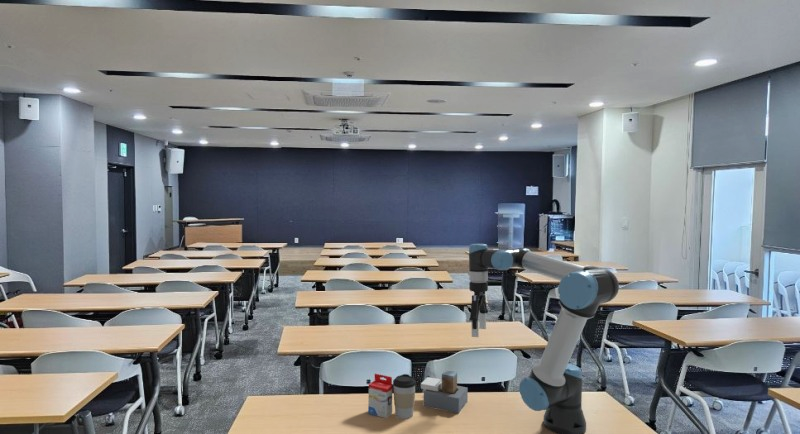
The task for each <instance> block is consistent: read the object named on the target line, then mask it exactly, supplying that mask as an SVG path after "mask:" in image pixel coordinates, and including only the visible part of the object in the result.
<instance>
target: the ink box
mask: <svg viewBox="0 0 800 434" xmlns="http://www.w3.org/2000/svg"><path fill="white" fill-rule="evenodd" d="M382 378H383V379H382ZM367 413H368V414H370V415H373V416H377V417H381V418H384V419H387V418H389V417H390V416H391V414H392V413H393V377H392V376H388V375H384V374H380V373H374V380H373V381H372V382H370V383H369V384H368V411H367Z"/></svg>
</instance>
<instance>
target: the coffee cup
mask: <svg viewBox="0 0 800 434" xmlns="http://www.w3.org/2000/svg"><path fill="white" fill-rule="evenodd" d="M416 385H417V381H416V379H415V378H414V377H413V376H410V375H409V374H407V373H404V374H401V375H397V376H396V377H395V378H394V379H392V387H393V388H392V392H393V404H394V412H395V413H394V414H395V417H396V418H398V419H401V420H408V419H411V418H413V416H414V406H415V399H416Z"/></svg>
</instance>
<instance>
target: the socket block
mask: <svg viewBox="0 0 800 434" xmlns="http://www.w3.org/2000/svg"><path fill="white" fill-rule="evenodd" d="M468 391H469V390H468V386H467V387H465V386H461V385H457V392H456V393H455V394H449V393H443V392H442V387H441V388H440V389H439V391H438V392H437V391H432V390H427V389H424V391H423V407H425V408H431V409H436V410H440V411H444V410H445V412H449V411H450V413H454V412H455V413H454V414H460V412H461V411H462V410H463V409H464V407H465V406H466V404H467V403H468V398H469V397H468V394H469V393H468Z"/></svg>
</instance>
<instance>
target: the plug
mask: <svg viewBox="0 0 800 434" xmlns="http://www.w3.org/2000/svg"><path fill="white" fill-rule="evenodd" d="M441 379H442V392H443V393H449V394H455V393H456V392H457V386H458V372H457V371H453V370H452V371H451V370H445V371H444V372H442V373H441Z"/></svg>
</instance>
